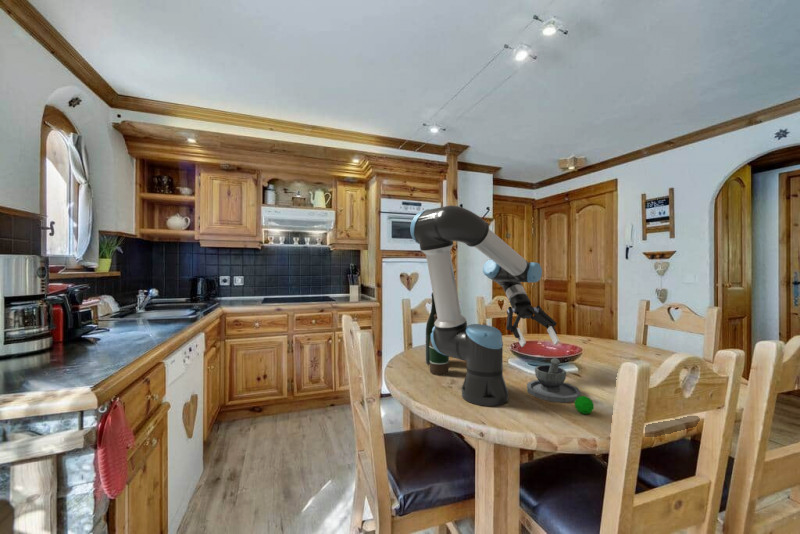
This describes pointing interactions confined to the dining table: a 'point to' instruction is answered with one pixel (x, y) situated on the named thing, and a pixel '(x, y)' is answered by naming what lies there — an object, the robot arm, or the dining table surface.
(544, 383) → the mortar and pestle
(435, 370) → the beer bottle
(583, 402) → the polyhedron
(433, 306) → the wine bottle
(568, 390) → the gray plate
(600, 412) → the dining table surface
